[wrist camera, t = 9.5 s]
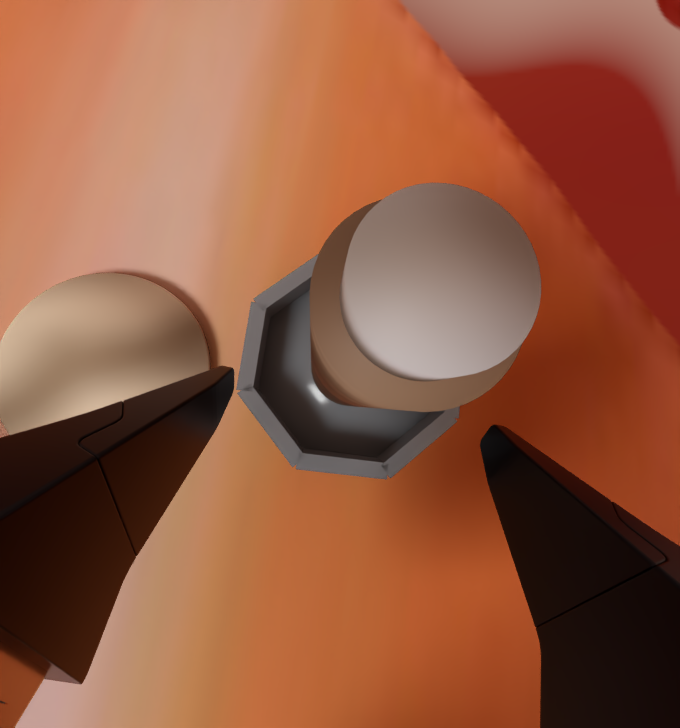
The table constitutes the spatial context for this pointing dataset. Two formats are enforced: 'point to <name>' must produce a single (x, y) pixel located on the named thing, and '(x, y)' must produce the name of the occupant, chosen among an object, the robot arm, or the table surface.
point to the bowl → (320, 396)
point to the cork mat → (94, 348)
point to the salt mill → (421, 300)
